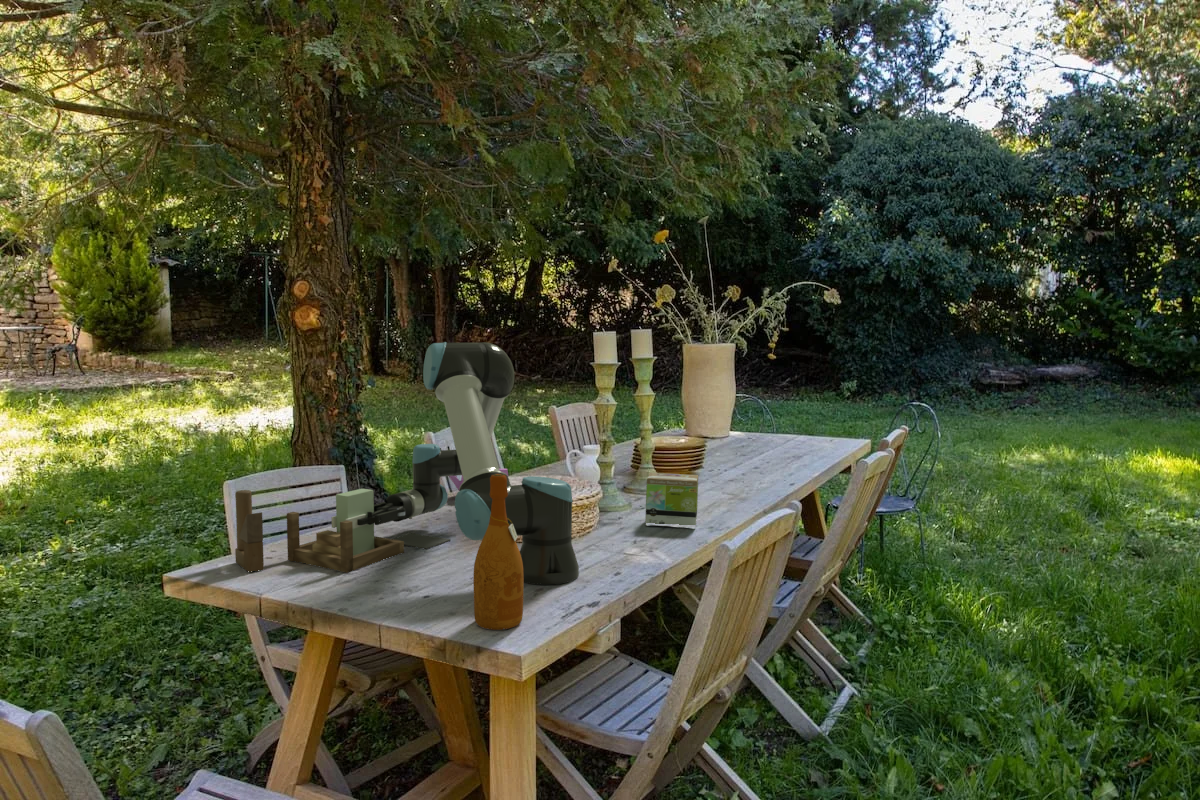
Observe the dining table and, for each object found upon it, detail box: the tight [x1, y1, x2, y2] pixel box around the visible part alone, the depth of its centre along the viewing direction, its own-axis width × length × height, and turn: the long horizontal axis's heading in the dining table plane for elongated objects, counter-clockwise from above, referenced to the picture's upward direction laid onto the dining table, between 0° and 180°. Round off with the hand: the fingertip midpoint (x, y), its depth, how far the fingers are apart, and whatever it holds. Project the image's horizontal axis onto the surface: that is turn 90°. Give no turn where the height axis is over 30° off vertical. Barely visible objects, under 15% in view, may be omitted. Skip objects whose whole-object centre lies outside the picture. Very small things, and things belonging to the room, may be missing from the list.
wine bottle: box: [473, 474, 525, 631], centre depth 161 cm, size 10×10×30 cm
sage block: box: [335, 488, 375, 556], centre depth 209 cm, size 4×9×16 cm, turn 152°
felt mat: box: [392, 532, 451, 550], centre depth 222 cm, size 14×10×1 cm
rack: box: [286, 511, 405, 574], centre depth 207 cm, size 20×20×12 cm
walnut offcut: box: [315, 529, 340, 547], centre depth 202 cm, size 7×4×3 cm, turn 60°
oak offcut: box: [312, 543, 341, 556], centre depth 202 cm, size 8×4×3 cm, turn 74°
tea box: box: [645, 472, 699, 525], centre depth 243 cm, size 15×10×15 cm, turn 81°
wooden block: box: [234, 489, 265, 573], centre depth 197 cm, size 4×11×18 cm, turn 39°
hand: (339, 523), depth 204 cm, fingers closed on sage block, 4 cm apart
